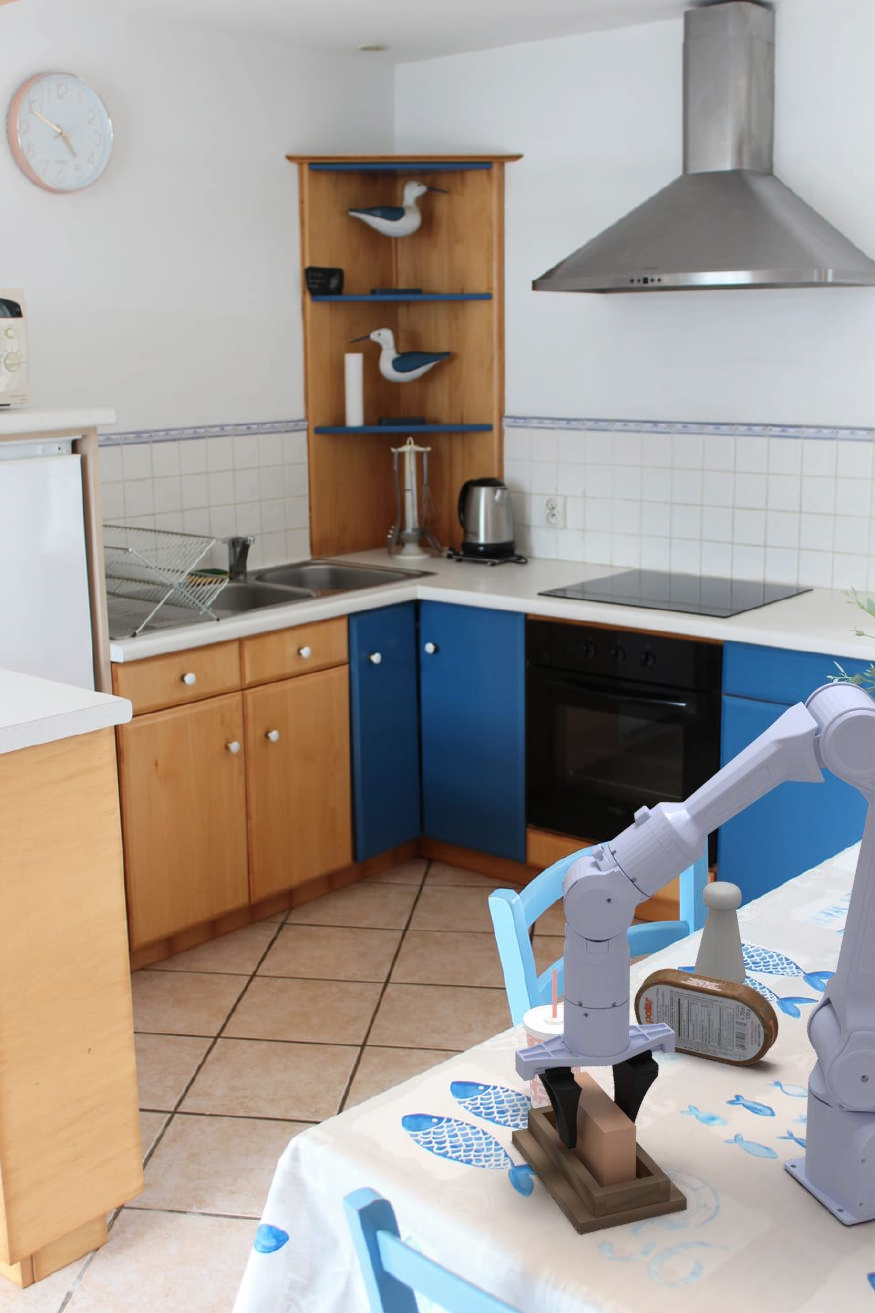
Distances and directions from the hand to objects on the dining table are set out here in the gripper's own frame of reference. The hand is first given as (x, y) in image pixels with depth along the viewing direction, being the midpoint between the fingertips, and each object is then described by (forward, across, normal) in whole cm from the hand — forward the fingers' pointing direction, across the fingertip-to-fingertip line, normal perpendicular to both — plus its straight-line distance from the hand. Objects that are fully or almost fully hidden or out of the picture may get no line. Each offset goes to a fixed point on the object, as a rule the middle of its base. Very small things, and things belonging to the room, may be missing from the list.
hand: (595, 1137), depth 121 cm
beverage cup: (+4, -1, -12) cm, 13 cm away
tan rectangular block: (+3, 0, 0) cm, 3 cm away
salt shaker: (+4, -29, -28) cm, 40 cm away
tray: (+4, 0, 0) cm, 4 cm away
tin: (+4, -20, -16) cm, 26 cm away
